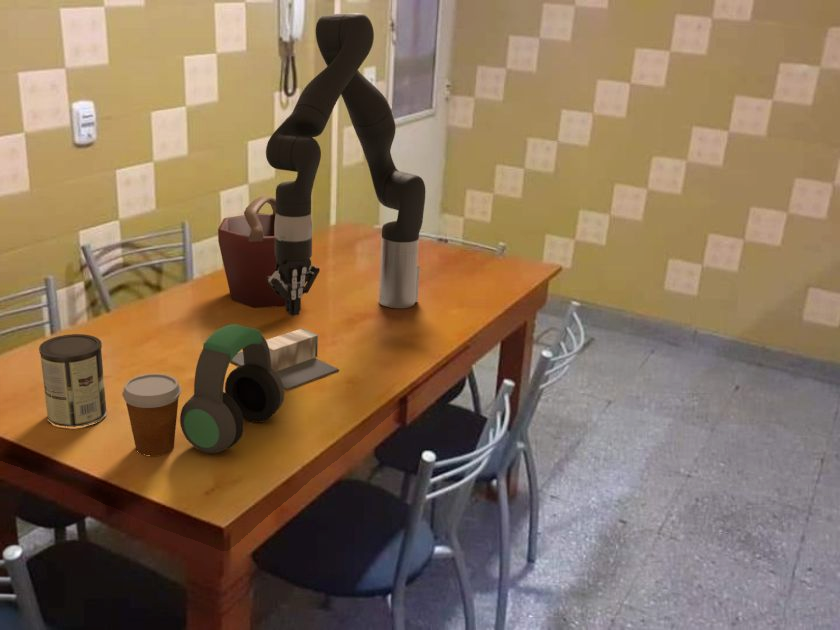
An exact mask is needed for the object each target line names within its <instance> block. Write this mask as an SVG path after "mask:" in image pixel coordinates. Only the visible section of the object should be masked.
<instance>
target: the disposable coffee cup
mask: <svg viewBox="0 0 840 630" xmlns="http://www.w3.org/2000/svg"><path fill="white" fill-rule="evenodd" d="M181 393H182V387H181V385H179V380H177V378H176V377H174V376H172V375H170V374H166V373H147V374H141V375H137V376H135V377H132V378H131V379H128V381H126V383H125V384H124V388H123V390H122V391H121V395H122V397H123V399H124V401H125V403H126V404H125V405H126V407H127V413H128V417H129V421H130V422H129V423H130V427H131V432H132V436H133V440H134V441H133V442H134V446H135V450H137V451H138V452H139V453H141V454H145V455H150V456H149V457H159V456H158V455H160V456H163V454H164V455H167V454H168V453H170V452H171V451H172V450H173V449H174V448H175V439H176V438H175V437H176V429H177V420H178V419H177V418H178V410H179V409H178V407H179V398H180V395H181ZM137 451H136V452H137ZM138 452H137V453H138ZM139 453H138V454H139ZM141 454H140V455H141Z"/></svg>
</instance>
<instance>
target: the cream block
mask: <svg viewBox="0 0 840 630" xmlns="http://www.w3.org/2000/svg"><path fill="white" fill-rule="evenodd" d="M318 336H319V335H318V334H316V333H314V332H312V331H309V330H307V329H304V328H299V329H297V330H293V331H290V332H287V333H283V334H280V335H277V336H275V337H272V338H267V339H265V340H266V341H267V344H268V347H269V352H270V360H271V368H272V369H273V370H274V371H275V372H276V371H279V370H282V369H284V368H287V367H290V366H293V365H296V364H298V363H301V362H304V361H307V360H310V359H312V358H318V348H319V347H318V345H319V343H318V341H319V340H318V339H319V338H318Z"/></svg>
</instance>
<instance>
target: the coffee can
mask: <svg viewBox="0 0 840 630" xmlns="http://www.w3.org/2000/svg"><path fill="white" fill-rule="evenodd" d="M102 344H103V343H102V341H101V339H99V337H96V336H94V335H89V334H85V333H84V334H81V333H79V334H78V333H76V334H75V333H73V334H63V335H59V336H55V337H51V338H49V339H47V340H45V341H43V342H42V343H40V345H39V347H38V351H39V355H40V360H41V363H40V364H41V370H42V371H41V372H42V379H43V388H44V396H45V397H44V398H45V404H46V415H47V417H48V420H49V421H50V422H51V423H53V424H55V425H59V426H65V427H66V426H67V427H76V426H84V425H89V424H92V423H96V422H98V421H100V422H102V421H103V420H104V419H105V418H106V417H107V415H106V414H108V410H107V404H106V403H107V401H106V391H105V379H104V365H103V355H102V347H103V345H102ZM105 416H106V417H105ZM104 417H105V418H104ZM103 418H104V419H103ZM102 419H103V420H102ZM48 420H47V421H48ZM101 420H102V421H101Z"/></svg>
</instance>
